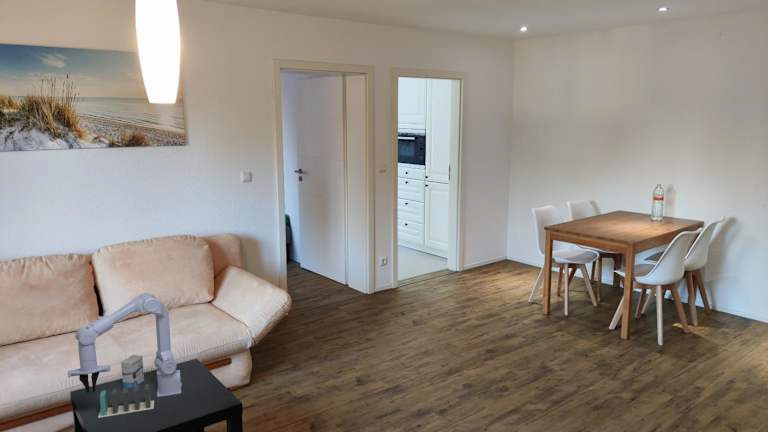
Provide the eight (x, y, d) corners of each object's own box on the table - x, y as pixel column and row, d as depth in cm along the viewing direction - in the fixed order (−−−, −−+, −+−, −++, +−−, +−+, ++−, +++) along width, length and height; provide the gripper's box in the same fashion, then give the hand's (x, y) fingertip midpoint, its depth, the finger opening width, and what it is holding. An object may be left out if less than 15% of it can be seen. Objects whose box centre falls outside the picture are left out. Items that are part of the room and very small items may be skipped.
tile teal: (107, 409, 224) (105, 390, 223) (106, 415, 219) (104, 396, 218) (103, 409, 223) (101, 391, 222) (101, 415, 219) (99, 396, 217)
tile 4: (140, 403, 228) (138, 385, 227) (139, 409, 223) (138, 390, 222) (136, 404, 228) (134, 386, 226) (135, 410, 223) (133, 391, 222)
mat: (154, 400, 231) (154, 400, 231) (153, 408, 224) (153, 408, 224) (100, 409, 224) (100, 409, 224) (98, 418, 218) (98, 417, 217)
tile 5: (150, 402, 229) (149, 383, 228) (150, 407, 225) (148, 389, 223) (146, 402, 229) (145, 384, 228) (146, 408, 224) (144, 389, 223)
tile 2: (118, 407, 225) (117, 388, 224) (117, 413, 221) (115, 394, 219) (114, 407, 225) (112, 389, 224) (113, 413, 220) (111, 394, 219)
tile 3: (129, 405, 227) (128, 387, 225) (128, 411, 222) (126, 392, 221) (125, 406, 226) (123, 387, 225) (124, 412, 222) (122, 393, 220)
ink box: (132, 389, 241) (130, 363, 239) (122, 388, 242) (120, 362, 240) (144, 380, 250) (142, 355, 248) (134, 379, 250) (132, 354, 249)
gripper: (109, 351, 222) (112, 383, 225) (68, 357, 218) (72, 389, 220) (107, 358, 216) (110, 391, 218) (65, 364, 211) (68, 397, 213)
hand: (91, 391), depth 219 cm, fingers closed
